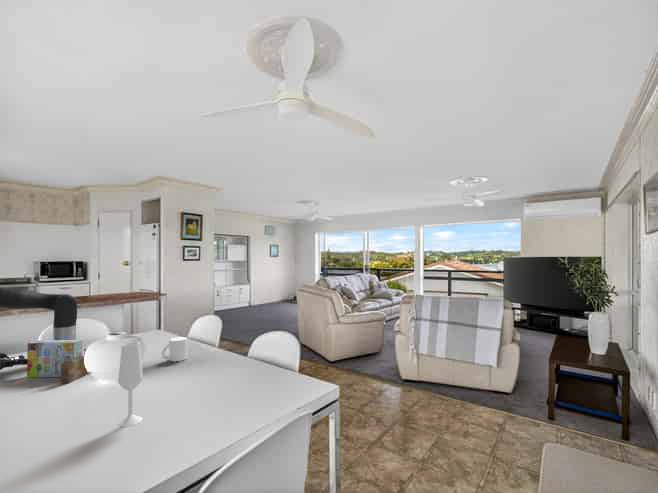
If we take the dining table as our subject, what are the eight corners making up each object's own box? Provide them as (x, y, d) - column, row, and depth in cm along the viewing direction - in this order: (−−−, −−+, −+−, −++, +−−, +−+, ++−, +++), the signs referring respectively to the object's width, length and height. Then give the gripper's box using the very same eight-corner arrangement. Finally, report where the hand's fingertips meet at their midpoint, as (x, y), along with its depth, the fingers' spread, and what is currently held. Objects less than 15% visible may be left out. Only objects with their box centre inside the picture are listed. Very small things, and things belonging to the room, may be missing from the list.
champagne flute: (137, 414, 111) (137, 340, 112) (146, 420, 107) (146, 343, 108) (114, 422, 106) (114, 344, 107) (122, 428, 102) (123, 347, 103)
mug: (189, 338, 173) (165, 343, 164) (189, 359, 172) (165, 364, 164) (182, 336, 178) (158, 340, 170) (182, 356, 178) (158, 361, 169)
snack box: (82, 373, 153) (83, 339, 153) (73, 377, 147) (73, 342, 148) (37, 373, 154) (37, 339, 154) (25, 377, 148) (26, 342, 148)
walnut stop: (87, 371, 155) (87, 347, 155) (94, 371, 155) (94, 347, 155) (60, 383, 140) (61, 356, 140) (68, 383, 140) (68, 356, 140)
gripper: (-26, 357, 143) (14, 357, 143) (4, 349, 156) (41, 349, 156) (-27, 375, 143) (13, 375, 142) (4, 365, 156) (41, 365, 156)
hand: (28, 361), depth 149 cm, fingers closed
